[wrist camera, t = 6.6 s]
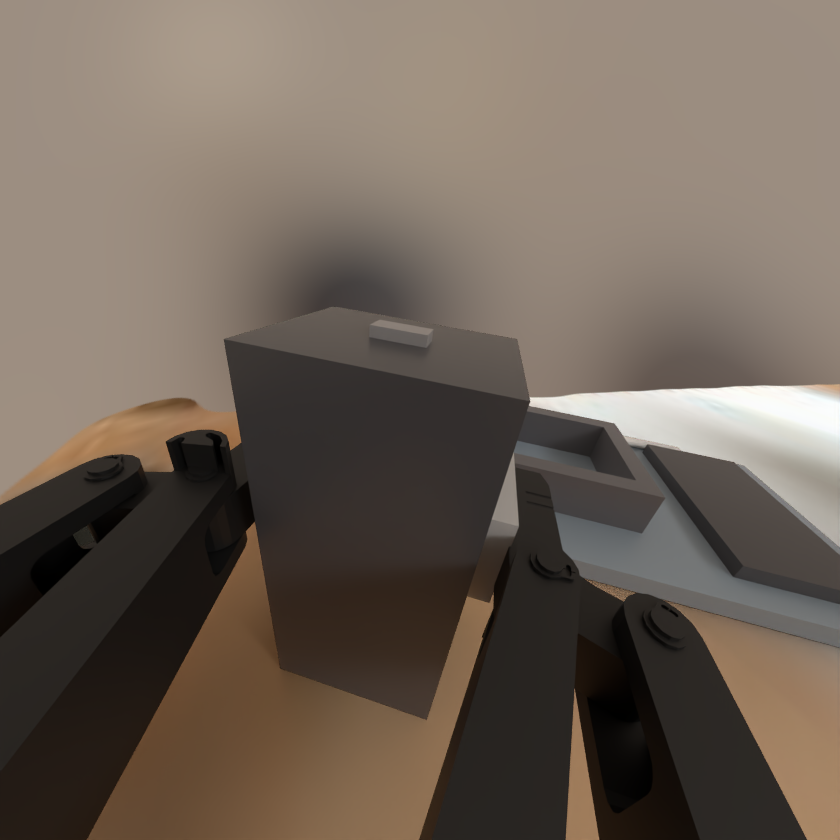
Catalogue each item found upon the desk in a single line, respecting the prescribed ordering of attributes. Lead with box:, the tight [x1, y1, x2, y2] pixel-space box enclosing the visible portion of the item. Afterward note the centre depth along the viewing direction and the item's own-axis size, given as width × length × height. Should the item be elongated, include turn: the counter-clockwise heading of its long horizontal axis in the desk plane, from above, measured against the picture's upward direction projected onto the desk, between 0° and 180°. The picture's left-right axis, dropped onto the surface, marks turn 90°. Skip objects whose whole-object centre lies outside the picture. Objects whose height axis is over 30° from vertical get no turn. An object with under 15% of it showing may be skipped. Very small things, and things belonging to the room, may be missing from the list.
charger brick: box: [224, 307, 530, 720], centre depth 9 cm, size 5×4×11 cm
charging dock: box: [514, 406, 840, 647], centre depth 20 cm, size 21×14×4 cm, turn 77°
